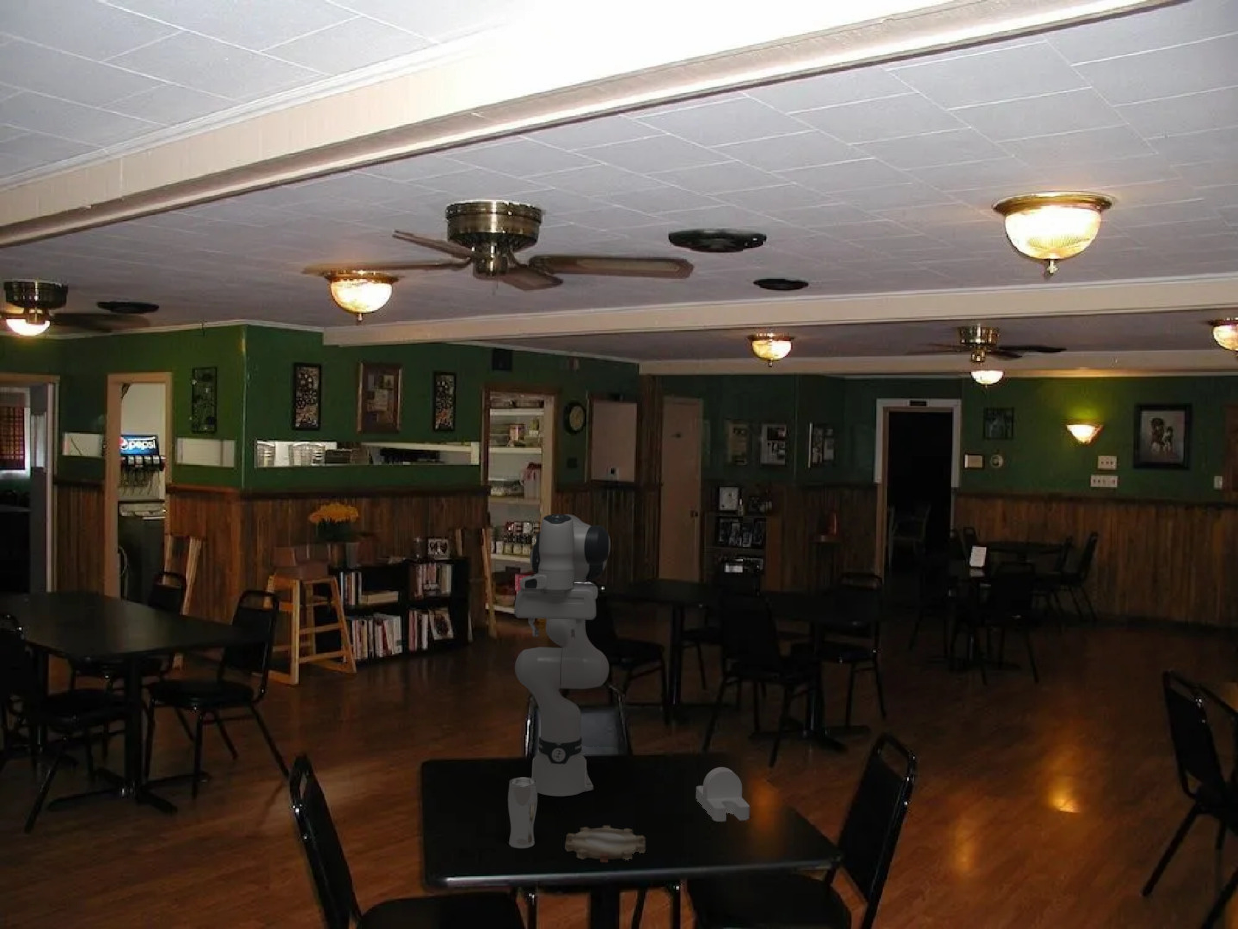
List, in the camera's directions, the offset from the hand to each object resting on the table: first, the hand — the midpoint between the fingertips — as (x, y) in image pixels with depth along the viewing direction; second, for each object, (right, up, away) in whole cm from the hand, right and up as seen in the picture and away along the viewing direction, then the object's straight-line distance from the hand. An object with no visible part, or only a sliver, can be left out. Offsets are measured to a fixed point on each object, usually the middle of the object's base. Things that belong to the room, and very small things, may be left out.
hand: (554, 636), depth 272 cm
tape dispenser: (+43, -49, +19) cm, 68 cm away
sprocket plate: (+13, -49, -9) cm, 51 cm away
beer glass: (-7, -48, -9) cm, 50 cm away
